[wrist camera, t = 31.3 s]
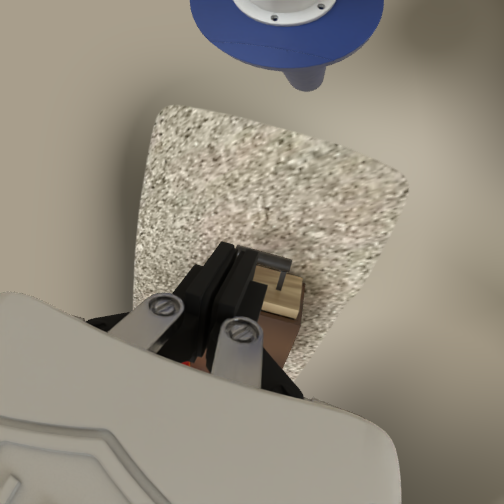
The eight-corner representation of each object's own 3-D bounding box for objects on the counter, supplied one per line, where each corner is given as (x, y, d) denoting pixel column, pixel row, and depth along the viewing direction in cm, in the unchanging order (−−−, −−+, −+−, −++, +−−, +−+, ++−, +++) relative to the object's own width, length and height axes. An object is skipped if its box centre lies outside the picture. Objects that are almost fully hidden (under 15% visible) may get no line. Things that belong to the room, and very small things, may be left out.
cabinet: (219, 259, 37) (196, 295, 30) (305, 283, 36) (300, 325, 29) (208, 332, 44) (189, 370, 36) (279, 352, 43) (270, 395, 35)
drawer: (228, 227, 34) (209, 252, 28) (312, 250, 33) (310, 280, 27) (212, 326, 42) (197, 358, 36) (278, 346, 41) (271, 380, 35)
